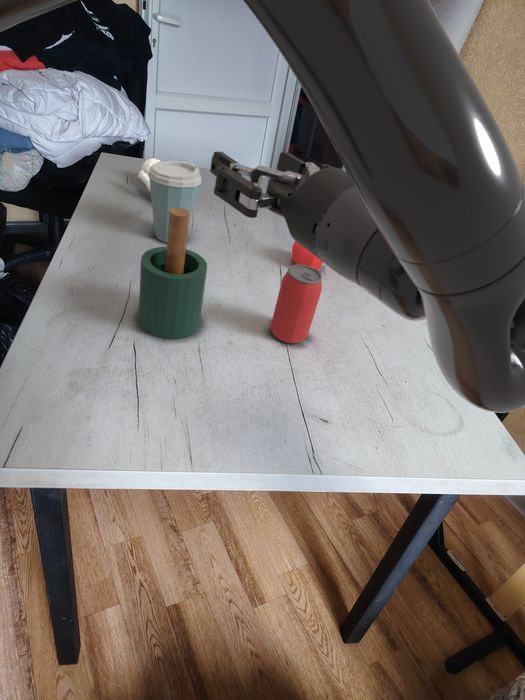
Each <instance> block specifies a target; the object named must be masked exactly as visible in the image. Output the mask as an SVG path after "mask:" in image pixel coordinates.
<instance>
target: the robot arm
mask: <svg viewBox="0 0 525 700" xmlns="http://www.w3.org/2000/svg"><path fill="white" fill-rule="evenodd" d="M242 1H243V3H244V4H245V5H246V6H247V8H248V10H250V12H251V13H252V14H253V16H254V17H255V18H256V19H257V21H258V22H259V24H260V25H261V27H262V28H263V29H264V30H265V32H266V34H267V35H268V36H269V38H270V40H271V41H272V43H273V44H274V45H275V47H276V48H277V49H278V51H279V53H280V54H281V56H282V57H283V59H284V61H285V62H286V63H287V65H288V67H289V68H290V70H291V72H292V73H293V75H294V76H295V78H296V80H297V82H298V83H299V85H300V86H301V88H302V90H303V92H304V94H305V95H306V97H307V99H308V101H309V103H310V105H311V106H312V107H313V109H314V112H315V114H316V116H317V117H318V118H319V121H320V123H321V124H322V126H323V129H324V130H325V132H326V135H327V136H328V138H329V141H330V142H331V144H332V146H333V148H334V151H335V152H336V154H337V156H338V158H339V160H340V162H341V164H342V166H343V168H344V170H343V169H342V168H339V167H334V166H331V165H330V164H329V163H328V164H327V163H325V164H324V163H323V164H321V167H320V166H318V165H317V164H316V163H314V162H312V161H307V162H305V161H304V160H302V159H300V158H298V157H297V156H295V155H294V154H292V153H290V152H288V151H281V152H280V153H279V156H278V161H277V166H276V169H275V168H271V167H268V166H264V165H262V164H259V165H257V166H256V167H249V166H247V165H243V164H240V163H239V162H238V161H236V160H235V159H233V158H232V157H230V156H229V155H228V154H226V153H224V152H223V151H214V152H213V153H212V156H211V160H210V169H209V171H210V173H211V174H212V175H214V177H215V183H214V188H213V195H215V196H217V197H218V198H220V199H221V200H222V201H224V202H225V203H226V204H228V205H229V206H231V207H232V208H233V209H235V210H236V211H238V212H239V213H240V214H242V215H243V216H245V217H247V218H251V219H255V218H257V217H258V212H259V209H266V210H268V211H270V212H271V213H274V214H275V215H277V216H279V217H282V218H283V219H284V220H285V223H286V225H287V228H288V232H289V235H290V237H291V238H292V239H293V240H294V242H295V241H296V242H297V243H298V244H300V245H301V246H302V247H304V248H305V249H306V250H308V251H309V252H310V253H312V254H313V255H314V256H316V257H317V258H318V259H320V260H321V261H322V262H323V264H325V265H326V266H328V267H329V268H330V269H331V270H333V271H334V272H335V273H337V274H338V275H340V276H341V277H342V278H344V279H346V280H348V281H350V282H351V283H353V284H355V285H357V286H358V287H360V288H362V289H363V290H364V291H365V292H367V293H368V294H370V295H371V296H372V297H374V298H375V299H377V300H378V301H379V302H380V303H382V304H383V305H384V306H386V307H387V308H388V309H389V310H391V311H392V312H394V313H395V314H396V315H398V316H399V317H401V318H403V319H405V320H408V321H412V322H418V321H426V325H427V331H428V337H429V341H430V346H431V350H432V353H433V355H434V358H435V362H436V364H437V366H438V368H439V371H440V372H441V375H442V376H443V377H444V379H445V381H446V382H447V384H448V385H449V386H450V388H451V389H452V390H453V391H454V392H455V393H456V394H457V395H458V396H459V397H460V398H461V399H463V400H464V401H465V402H467V403H468V404H469V405H471V406H474V407H475V408H477V409H479V410H482V411H485V412H490V413H498V414H505V413H513V412H517V411H519V410H522V409H524V408H525V182H524V180H523V177H522V176H521V175H522V174H521V172H520V169H519V168H518V165H517V163H516V161H515V157H514V155H513V154H512V151H511V149H510V146H509V145H508V143H507V141H506V138H505V136H504V134H503V132H502V131H501V129H500V127H499V125H498V123H497V121H496V119H495V117H494V114H493V113H492V111H491V109H490V108H489V106H488V104H487V102H486V100H485V99H484V97H483V95H482V93H481V91H480V90H479V87H478V85H477V84H476V82H475V81H474V78H473V76H472V75H471V73H470V71H469V70H468V68H467V66H466V64H465V63H464V61H463V59H462V58H461V56H460V54H459V52H458V51H457V48H456V47H455V45H454V43H453V42H452V40H451V39H450V36H449V35H448V33H447V32H446V30H445V28H444V26H443V24H442V22H441V20H440V18H439V16H438V15H437V13H436V11H435V9H434V7H433V5H432V3H431V0H242ZM73 2H77V0H0V32H3V31H6V30H7V29H10V28H12V27H13V26H17V25H18V24H20V23H23V22H25V21H28V20H30V19H33V18H35V17H38V16H40V15H42V14H46V13H48V12H51V11H53V10H56V9H58V8H61V7H64V6H66V5H69V4H71V3H73ZM244 176H246V177H249V178H250V180H249V179H247V178H245V177H244ZM263 177H265V178H269V179H268V180H267V184H266V185H267V186H266V190H265V192H263V189H262V188H261V185H262V181H263Z"/></svg>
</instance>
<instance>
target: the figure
mask: <svg viewBox="0 0 525 700" xmlns="http://www.w3.org/2000/svg"><path fill="white" fill-rule="evenodd" d="M158 162H162V161H161V160H160V159H158V158H155V157H151V158H147V159H146V160H145V161H144V162H143V163H142V164H141V170H140V171H139V172H138V176H137V179H139V181H141V182H142V183H143V185H145V187H146V189H147V191H148V192H149V193H151V189H150V179H149V177H148V172H149V168H150V167H151V166H152V165H153V164H155V163H158Z"/></svg>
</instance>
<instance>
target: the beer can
mask: <svg viewBox="0 0 525 700" xmlns="http://www.w3.org/2000/svg"><path fill="white" fill-rule="evenodd" d="M322 280H323V275H322V274H321V272H320V271H319V270H318V269H317V270H316V269H314V268H312V267H309V266H306V265H297V264H293V265H291V266H289V267H288V268H287V271H286V272H285V274H284V275H283V277H282V279H281V282H280V287H279V291H278V294H277V299H276V303H275V305H274V306H275V307H274V310H273V315H272V319H271V323H270V327H269V329H270V332H271V334H272V335H273V337H275V338H276V339H277V340H279V341H281V342H283V343H287V344H299V343H302V342H304V341H305V340H306V339H307V338H308V335H309V332H310V329H311V326H312V323H313V320H314V317H315V314H316V310H317V307H318V303H319V300H320V297H321V294H322V290H323V287H322V286H323V283H322Z"/></svg>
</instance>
